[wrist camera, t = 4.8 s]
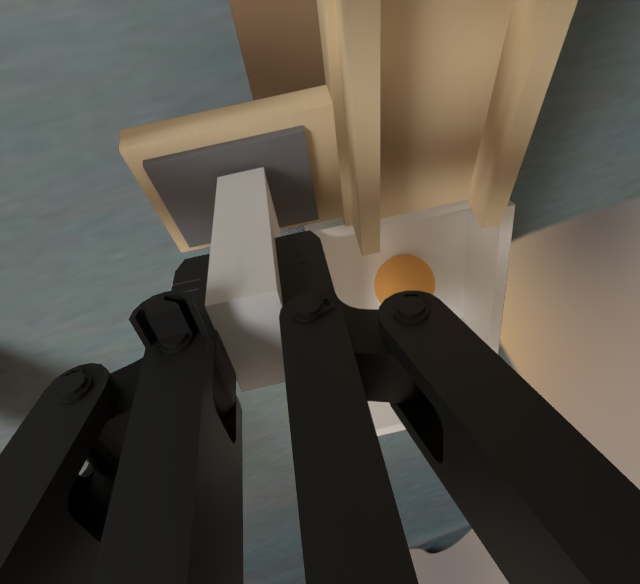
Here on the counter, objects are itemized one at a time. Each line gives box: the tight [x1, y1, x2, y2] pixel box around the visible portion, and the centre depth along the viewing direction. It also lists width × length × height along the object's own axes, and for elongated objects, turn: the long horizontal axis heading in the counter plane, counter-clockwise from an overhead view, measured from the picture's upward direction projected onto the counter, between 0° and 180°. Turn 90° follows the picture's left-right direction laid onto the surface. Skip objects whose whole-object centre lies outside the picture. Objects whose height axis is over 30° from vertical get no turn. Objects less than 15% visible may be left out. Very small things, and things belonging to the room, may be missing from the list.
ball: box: [374, 255, 435, 304], centre depth 24 cm, size 3×3×3 cm
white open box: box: [304, 199, 515, 436], centre depth 23 cm, size 10×9×7 cm
